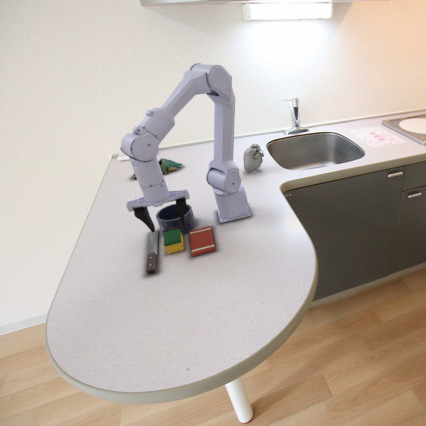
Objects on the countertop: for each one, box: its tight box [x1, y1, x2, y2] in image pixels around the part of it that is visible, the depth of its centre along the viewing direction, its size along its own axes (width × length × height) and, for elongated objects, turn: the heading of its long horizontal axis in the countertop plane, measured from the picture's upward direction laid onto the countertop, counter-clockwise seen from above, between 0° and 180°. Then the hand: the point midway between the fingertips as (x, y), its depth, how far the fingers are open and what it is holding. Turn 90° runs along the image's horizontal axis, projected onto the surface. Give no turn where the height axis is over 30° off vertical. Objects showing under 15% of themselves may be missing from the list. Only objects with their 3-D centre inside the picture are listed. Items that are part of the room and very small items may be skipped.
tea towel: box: [189, 225, 216, 258], centre depth 89 cm, size 6×12×1 cm, turn 23°
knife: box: [145, 230, 159, 276], centre depth 85 cm, size 2×20×2 cm, turn 23°
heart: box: [242, 143, 265, 174], centre depth 126 cm, size 10×10×12 cm
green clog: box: [131, 157, 184, 180], centre depth 130 cm, size 9×20×5 cm, turn 114°
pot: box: [155, 203, 197, 236], centre depth 94 cm, size 10×10×6 cm
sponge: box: [163, 229, 185, 255], centre depth 87 cm, size 4×6×3 cm
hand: (168, 226), depth 84 cm, fingers open, 7 cm apart
